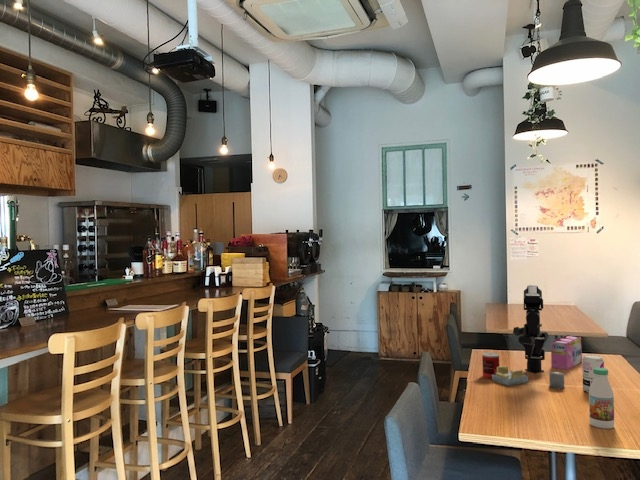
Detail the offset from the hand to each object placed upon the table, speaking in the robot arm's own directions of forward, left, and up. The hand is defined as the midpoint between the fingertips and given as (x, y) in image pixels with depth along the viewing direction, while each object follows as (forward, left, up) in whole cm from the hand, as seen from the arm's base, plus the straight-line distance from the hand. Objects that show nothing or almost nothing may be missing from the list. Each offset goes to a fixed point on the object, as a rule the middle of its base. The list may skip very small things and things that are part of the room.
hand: (533, 356), depth 228 cm
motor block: (+7, -8, -13) cm, 17 cm away
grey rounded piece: (-5, +8, -13) cm, 16 cm away
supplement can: (-13, +20, -13) cm, 27 cm away
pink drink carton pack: (-42, -18, -13) cm, 48 cm away
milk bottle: (+19, +48, -13) cm, 53 cm away
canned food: (+9, -18, -13) cm, 24 cm away
